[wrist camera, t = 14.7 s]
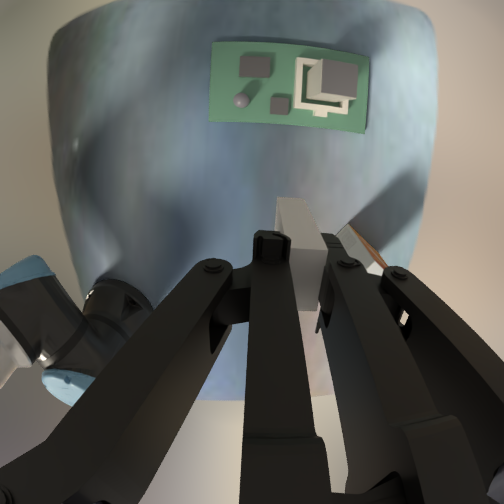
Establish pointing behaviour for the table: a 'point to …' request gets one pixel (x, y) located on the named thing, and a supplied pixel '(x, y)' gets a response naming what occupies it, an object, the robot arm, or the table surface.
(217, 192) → the table surface
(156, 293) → the table surface
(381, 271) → the small box
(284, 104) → the board
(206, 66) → the table surface
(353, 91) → the plug
